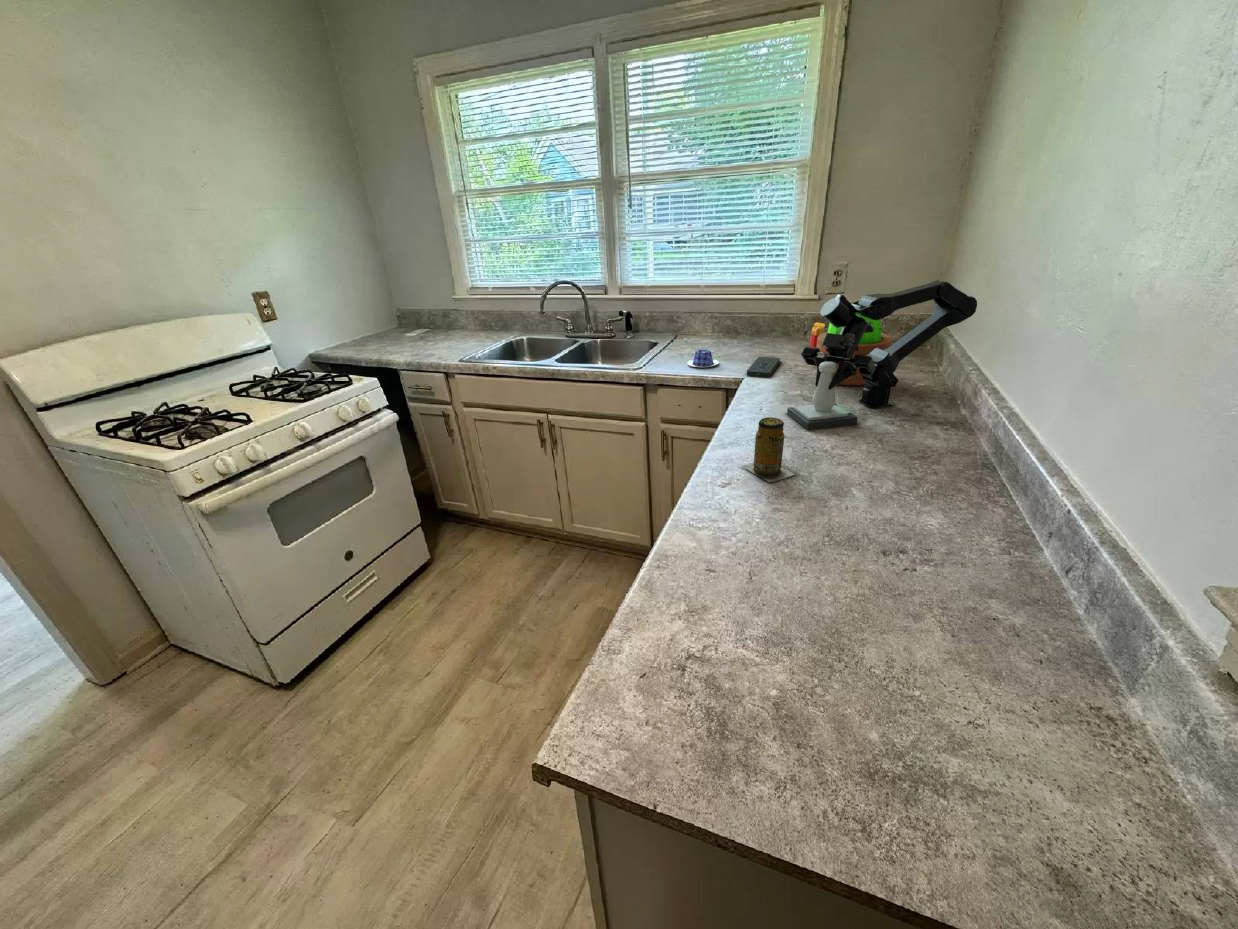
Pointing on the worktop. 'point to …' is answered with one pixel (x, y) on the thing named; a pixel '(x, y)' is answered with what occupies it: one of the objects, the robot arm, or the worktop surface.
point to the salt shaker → (825, 388)
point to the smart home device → (763, 366)
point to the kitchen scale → (821, 417)
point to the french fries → (816, 334)
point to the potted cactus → (860, 346)
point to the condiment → (769, 451)
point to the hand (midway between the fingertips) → (822, 387)
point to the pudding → (703, 359)
